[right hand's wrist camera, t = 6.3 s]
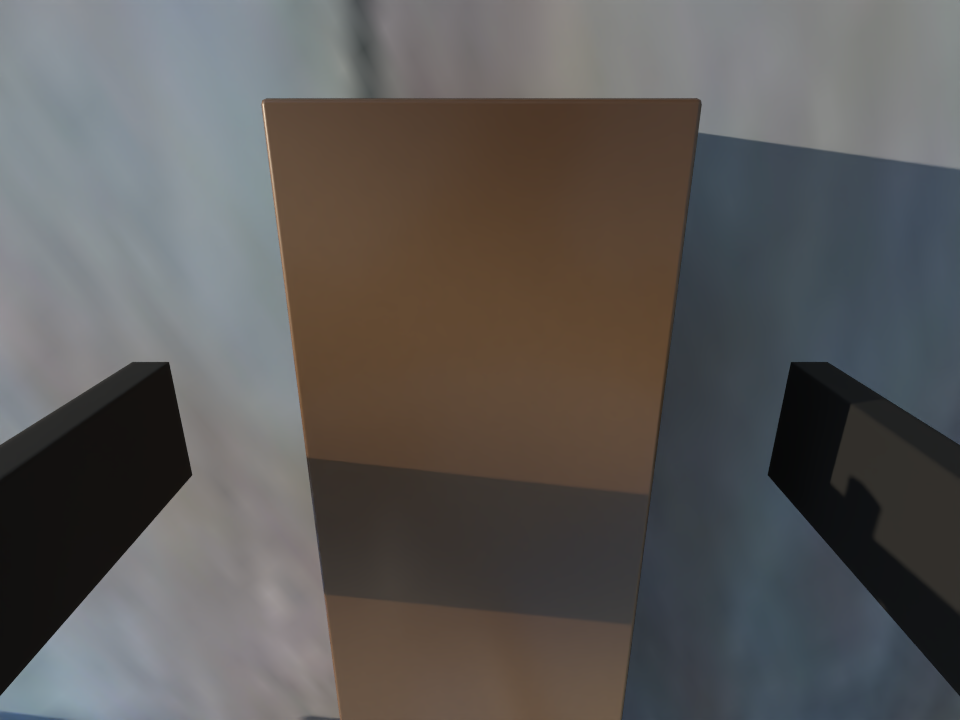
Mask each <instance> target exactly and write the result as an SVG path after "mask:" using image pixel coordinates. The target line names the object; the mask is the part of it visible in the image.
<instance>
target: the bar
mask: <svg viewBox="0 0 960 720" xmlns="http://www.w3.org/2000/svg"><path fill="white" fill-rule="evenodd" d="M701 106H702V104H701V100H699V99H697V98H266V99H264V100H263V101H262V112H263V120H264V128H265V136H266V144H267V151H268V159H269V167H270V175H271V183H272V190H273V198H274V206H275V214H276V222H277V229H278V237H279V245H280V253H281V261H282V269H283V276H284V284H285V292H286V300H287V308H288V315H289V323H290V331H291V339H292V347H293V355H294V362H295V370H296V378H297V386H298V394H299V401H300V409H301V417H302V425H303V433H304V441H305V448H306V456H307V464H308V472H309V480H310V487H311V495H312V503H313V511H314V519H315V527H316V534H317V542H318V550H319V558H320V566H321V573H322V581H323V589H324V597H325V605H326V613H327V620H328V628H329V636H330V644H331V652H332V659H333V667H334V675H335V683H336V691H337V699H338V706H339V714H340V720H622V714H623V706H624V699H625V691H626V683H627V676H628V668H629V660H630V652H631V645H632V637H633V629H634V622H635V614H636V606H637V599H638V591H639V583H640V575H641V568H642V560H643V552H644V545H645V537H646V529H647V522H648V514H649V506H650V498H651V491H652V483H653V475H654V468H655V460H656V452H657V445H658V437H659V429H660V421H661V414H662V406H663V398H664V391H665V383H666V375H667V368H668V360H669V352H670V344H671V337H672V329H673V321H674V314H675V306H676V298H677V291H678V283H679V275H680V267H681V260H682V252H683V244H684V237H685V229H686V221H687V214H688V206H689V198H690V191H691V183H692V175H693V167H694V160H695V152H696V144H697V137H698V129H699V121H700V114H701Z"/></svg>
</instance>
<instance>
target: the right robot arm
mask: <svg viewBox="0 0 960 720" xmlns="http://www.w3.org/2000/svg"><path fill="white" fill-rule="evenodd" d="M191 476H192V471H191V467H190V462H189V457H188V452H187V447H186V442H185V438H184V433H183V428H182V423H181V418H180V413H179V409H178V404H177V399H176V394H175V389H174V384H173V379H172V375H171V370H170V365H169V362H132V363H130V364H129V365H127V366H126V367H124V368H122V369H121V370H119V371H118V372H116V373H114V374H113V375H111V376H110V377H108V378H107V379H105V380H103V381H102V382H100V383H99V384H97V385H95V386H94V387H92V388H91V389H89V390H87V391H86V392H84V393H83V394H81V395H79V396H78V397H76V398H75V399H73V400H71V401H70V402H68V403H67V404H65V405H63V406H62V407H60V408H59V409H57V410H55V411H54V412H52V413H51V414H49V415H48V416H46V417H44V418H43V419H41V420H40V421H38V422H36V423H35V424H33V425H32V426H30V427H28V428H27V429H25V430H24V431H22V432H20V433H19V434H17V435H16V436H14V437H12V438H11V439H9V440H8V441H6V442H4V443H3V444H1V445H0V695H1V694H2V693H3V692H4V691H5V690H6V689H7V687H8V686H9V685H10V684H11V683H12V682H13V681H14V679H15V678H16V677H17V676H18V675H19V674H20V672H21V671H22V670H23V669H24V668H25V667H26V666H27V664H28V663H29V662H30V661H31V660H32V659H33V658H34V656H35V655H36V654H37V653H38V652H39V651H40V649H41V648H42V647H43V646H44V645H45V644H46V643H47V641H48V640H49V639H50V638H51V637H52V636H53V635H54V633H55V632H56V631H57V630H58V629H59V628H60V626H61V625H62V624H63V623H64V622H65V621H66V620H67V618H68V617H69V616H70V615H71V614H72V613H73V612H74V610H75V609H76V608H77V607H78V606H79V605H80V603H81V602H82V601H83V600H84V599H85V598H86V597H87V595H88V594H89V593H90V592H91V591H92V590H93V589H94V587H95V586H96V585H97V584H98V583H99V582H100V581H101V579H102V578H103V577H104V576H105V575H106V574H107V572H108V571H109V570H110V569H111V568H112V567H113V566H114V564H115V563H116V562H117V561H118V560H119V559H120V558H121V556H122V555H123V554H124V553H125V552H126V551H127V549H128V548H129V547H130V546H131V545H132V544H133V543H134V541H135V540H136V539H137V538H138V537H139V536H140V535H141V533H142V532H143V531H144V530H145V529H146V528H147V526H148V525H149V524H150V523H151V522H152V521H153V520H154V518H155V517H156V516H157V515H158V514H159V513H160V512H161V510H162V509H163V508H164V507H165V506H166V505H167V503H168V502H169V501H170V500H171V499H172V498H173V497H174V495H175V494H176V493H177V492H178V491H179V490H180V489H181V487H182V486H183V485H184V484H185V483H186V482H187V480H188V479H189V478H190V477H191ZM768 476H769V477H770V478H771V479H772V480H773V482H774V483H775V484H776V485H777V486H778V487H779V489H780V490H781V491H782V492H783V493H784V494H785V495H786V497H787V498H788V499H789V500H790V501H791V502H792V503H793V505H794V506H795V507H796V508H797V509H798V510H799V512H800V513H801V514H802V515H803V516H804V517H805V518H806V520H807V521H808V522H809V523H810V524H811V525H812V526H813V528H814V529H815V530H816V531H817V532H818V533H819V535H820V536H821V537H822V538H823V539H824V540H825V541H826V543H827V544H828V545H829V546H830V547H831V548H832V549H833V551H834V552H835V553H836V554H837V555H838V556H839V558H840V559H841V560H842V561H843V562H844V563H845V564H846V566H847V567H848V568H849V569H850V570H851V571H852V572H853V574H854V575H855V576H856V577H857V578H858V579H859V581H860V582H861V583H862V584H863V585H864V586H865V587H866V589H867V590H868V591H869V592H870V593H871V594H872V595H873V597H874V598H875V599H876V600H877V601H878V602H879V604H880V605H881V606H882V607H883V608H884V609H885V610H886V612H887V613H888V614H889V615H890V616H891V617H892V618H893V620H894V621H895V622H896V623H897V624H898V625H899V626H900V628H901V629H902V630H903V631H904V632H905V633H906V635H907V636H908V637H909V638H910V639H911V640H912V641H913V643H914V644H915V645H916V646H917V647H918V648H919V649H920V651H921V652H922V653H923V654H924V655H925V656H926V658H927V659H928V660H929V661H930V662H931V663H932V664H933V666H934V667H935V668H936V669H937V670H938V671H939V672H940V674H941V675H942V676H943V677H944V678H945V679H946V681H947V682H948V683H949V684H950V685H951V686H952V687H953V689H954V690H955V691H956V692H957V693H958V694H959V695H960V445H959V444H957V443H956V442H954V441H952V440H951V439H949V438H948V437H946V436H944V435H943V434H941V433H940V432H938V431H936V430H935V429H933V428H932V427H930V426H928V425H927V424H925V423H924V422H922V421H920V420H919V419H917V418H916V417H914V416H912V415H911V414H909V413H908V412H906V411H905V410H903V409H901V408H900V407H898V406H897V405H895V404H893V403H892V402H890V401H889V400H887V399H885V398H884V397H882V396H881V395H879V394H877V393H876V392H874V391H873V390H871V389H869V388H868V387H866V386H865V385H863V384H861V383H860V382H858V381H857V380H855V379H853V378H852V377H850V376H849V375H847V374H846V373H844V372H842V371H841V370H839V369H838V368H836V367H834V366H833V365H831V364H830V363H828V362H791V365H790V370H789V375H788V379H787V384H786V389H785V394H784V399H783V404H782V409H781V413H780V418H779V423H778V428H777V433H776V438H775V442H774V447H773V452H772V457H771V462H770V467H769V471H768Z"/></svg>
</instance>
